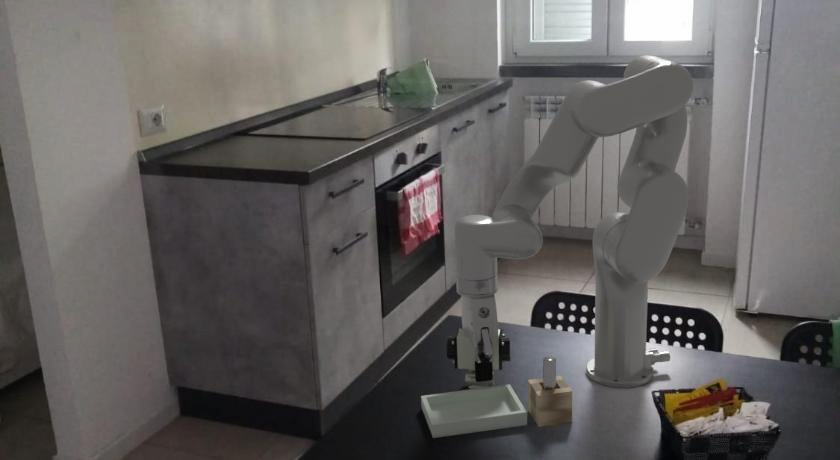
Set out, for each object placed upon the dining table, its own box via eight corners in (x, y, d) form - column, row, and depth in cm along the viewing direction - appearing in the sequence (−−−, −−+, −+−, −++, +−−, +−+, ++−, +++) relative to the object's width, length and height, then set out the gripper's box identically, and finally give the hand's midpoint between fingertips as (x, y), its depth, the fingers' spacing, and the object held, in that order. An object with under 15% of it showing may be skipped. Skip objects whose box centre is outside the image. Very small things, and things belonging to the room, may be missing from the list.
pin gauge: (553, 412, 153) (553, 355, 150) (557, 418, 151) (557, 361, 148) (541, 414, 153) (541, 357, 150) (545, 420, 151) (545, 362, 147)
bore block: (560, 405, 155) (560, 375, 153) (572, 422, 150) (572, 391, 148) (528, 410, 154) (527, 379, 153) (538, 427, 149) (538, 395, 147)
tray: (510, 396, 160) (509, 384, 159) (527, 424, 150) (526, 412, 149) (421, 408, 157) (420, 395, 156) (433, 438, 147) (432, 425, 146)
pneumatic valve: (510, 393, 160) (509, 333, 157) (447, 391, 162) (445, 331, 159) (512, 381, 165) (511, 322, 162) (451, 379, 167) (449, 320, 164)
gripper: (510, 297, 150) (511, 391, 155) (485, 265, 166) (487, 351, 172) (467, 302, 149) (470, 396, 154) (446, 269, 165) (450, 355, 170)
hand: (479, 371), depth 163 cm, fingers closed on pneumatic valve, 6 cm apart
